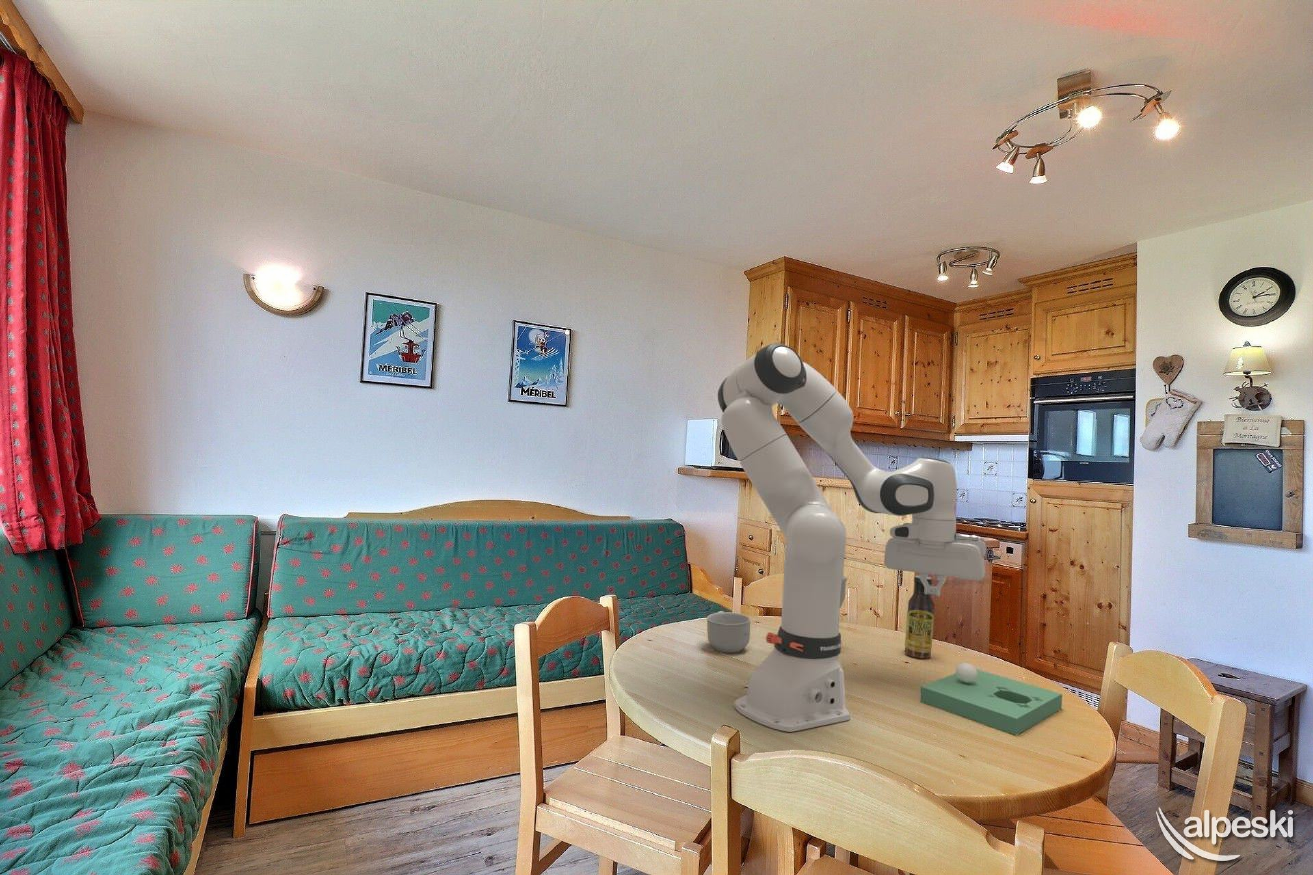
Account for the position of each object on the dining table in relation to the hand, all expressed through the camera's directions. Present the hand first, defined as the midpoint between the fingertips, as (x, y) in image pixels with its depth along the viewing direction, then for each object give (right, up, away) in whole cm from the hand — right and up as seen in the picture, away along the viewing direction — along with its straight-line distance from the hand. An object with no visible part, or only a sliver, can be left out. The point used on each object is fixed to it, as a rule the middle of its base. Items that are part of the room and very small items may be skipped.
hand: (932, 594), depth 135 cm
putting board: (+7, -20, -11) cm, 23 cm away
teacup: (-43, -18, +20) cm, 51 cm away
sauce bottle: (+5, -21, +20) cm, 29 cm away
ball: (+4, -15, -7) cm, 17 cm away
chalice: (-15, -20, +24) cm, 35 cm away
